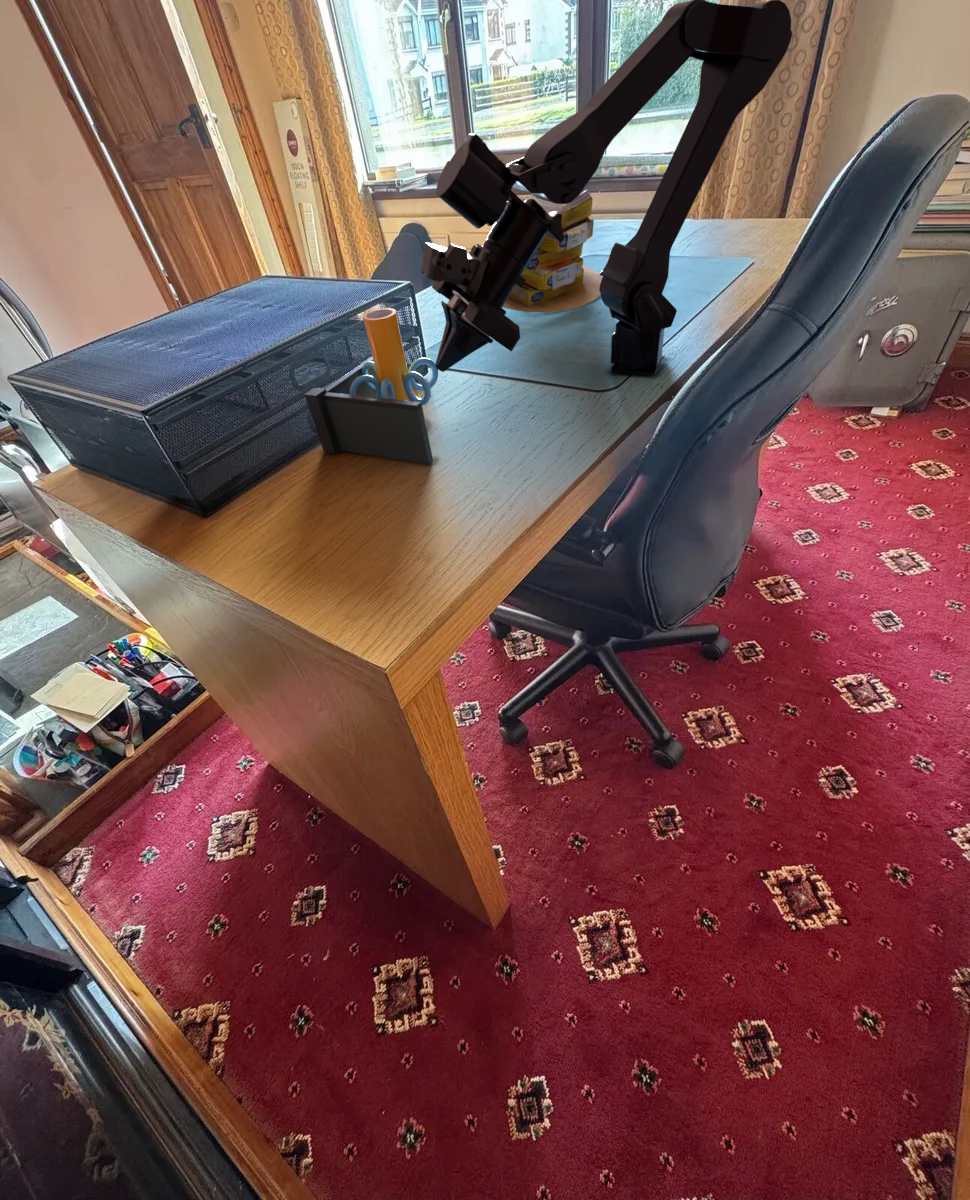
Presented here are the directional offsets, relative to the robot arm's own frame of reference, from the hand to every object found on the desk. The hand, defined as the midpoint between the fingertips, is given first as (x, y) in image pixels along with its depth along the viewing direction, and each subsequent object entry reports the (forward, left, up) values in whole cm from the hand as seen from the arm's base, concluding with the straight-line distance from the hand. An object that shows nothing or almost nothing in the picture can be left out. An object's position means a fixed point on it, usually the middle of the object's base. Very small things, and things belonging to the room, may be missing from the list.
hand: (438, 369), depth 74 cm
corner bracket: (+4, +5, -7) cm, 9 cm away
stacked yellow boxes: (+7, -53, -7) cm, 54 cm away
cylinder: (+4, +5, -7) cm, 9 cm away
